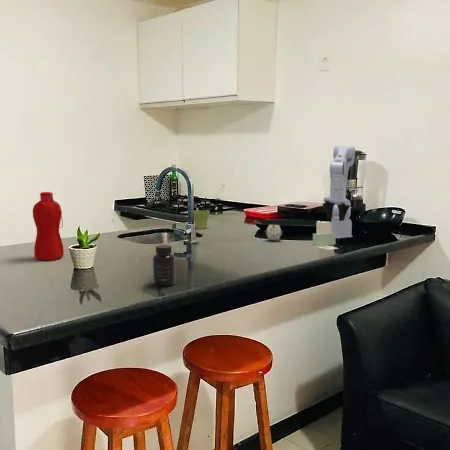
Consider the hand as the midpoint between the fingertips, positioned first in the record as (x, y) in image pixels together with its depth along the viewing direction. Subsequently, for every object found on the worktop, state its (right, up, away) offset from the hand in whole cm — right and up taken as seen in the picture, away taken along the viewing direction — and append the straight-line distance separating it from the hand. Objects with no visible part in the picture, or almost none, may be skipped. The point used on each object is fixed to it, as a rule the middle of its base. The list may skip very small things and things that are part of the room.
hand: (335, 219), depth 227 cm
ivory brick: (-6, -6, -5) cm, 10 cm away
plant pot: (-62, -4, +37) cm, 72 cm away
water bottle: (-114, -15, -35) cm, 121 cm away
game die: (-27, -10, +4) cm, 29 cm away
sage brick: (-6, -11, -4) cm, 13 cm away
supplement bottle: (-68, -21, -68) cm, 99 cm away
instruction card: (-6, -12, -10) cm, 17 cm away
